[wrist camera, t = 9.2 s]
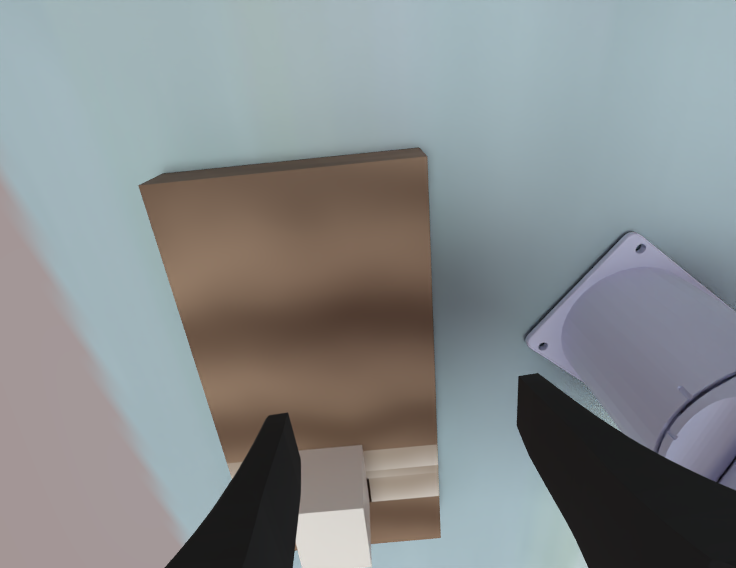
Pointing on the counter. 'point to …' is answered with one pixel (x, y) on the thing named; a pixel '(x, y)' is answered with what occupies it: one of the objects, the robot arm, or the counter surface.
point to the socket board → (314, 312)
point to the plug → (334, 509)
